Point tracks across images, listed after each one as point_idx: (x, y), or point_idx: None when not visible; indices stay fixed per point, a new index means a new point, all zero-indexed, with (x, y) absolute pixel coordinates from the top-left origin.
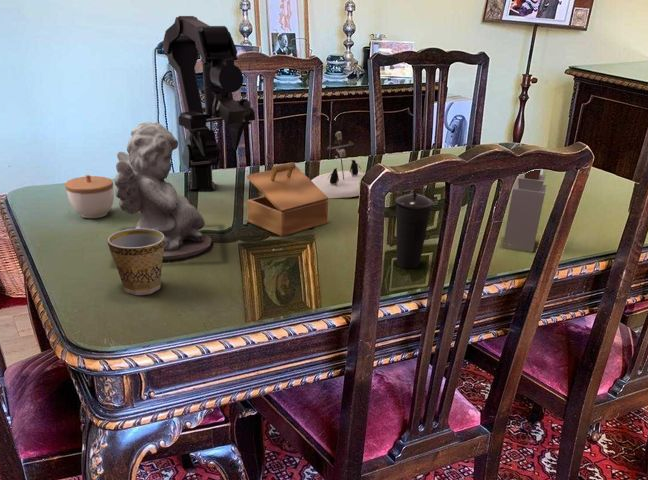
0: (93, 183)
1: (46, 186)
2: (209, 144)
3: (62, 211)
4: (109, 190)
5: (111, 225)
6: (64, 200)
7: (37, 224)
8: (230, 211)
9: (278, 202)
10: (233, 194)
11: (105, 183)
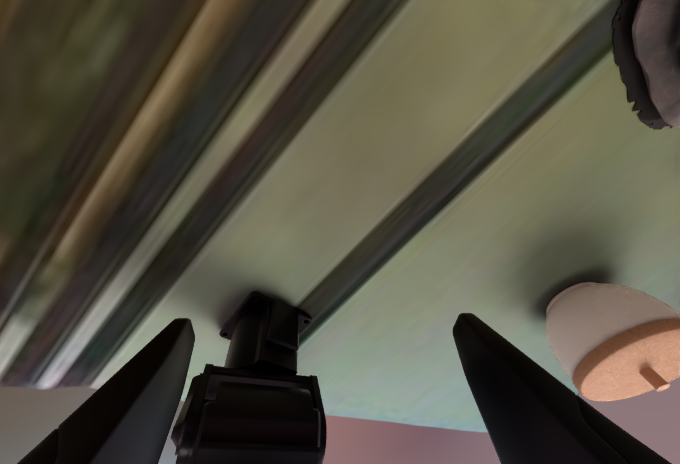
0: (659, 357)
1: (477, 428)
2: (239, 452)
3: None
4: (637, 321)
5: (633, 227)
6: None
7: None
8: (350, 91)
9: None
10: (221, 234)
11: (648, 345)
